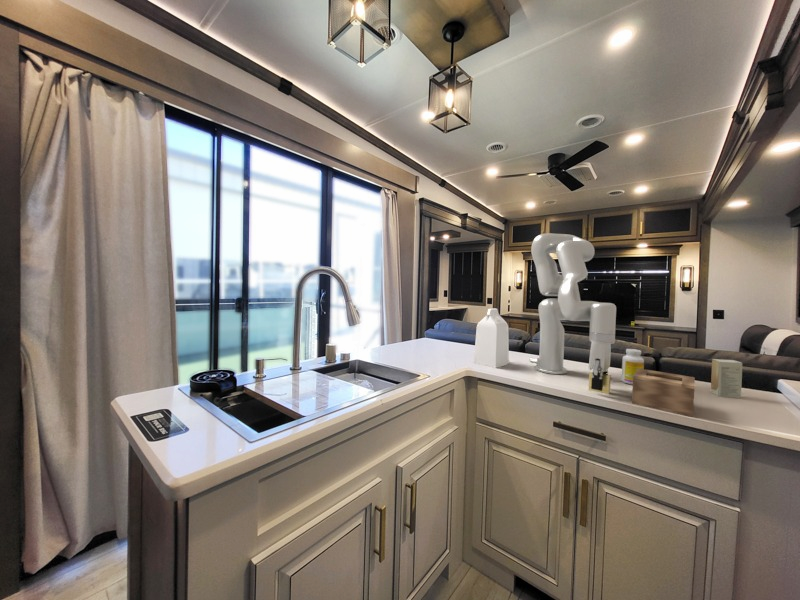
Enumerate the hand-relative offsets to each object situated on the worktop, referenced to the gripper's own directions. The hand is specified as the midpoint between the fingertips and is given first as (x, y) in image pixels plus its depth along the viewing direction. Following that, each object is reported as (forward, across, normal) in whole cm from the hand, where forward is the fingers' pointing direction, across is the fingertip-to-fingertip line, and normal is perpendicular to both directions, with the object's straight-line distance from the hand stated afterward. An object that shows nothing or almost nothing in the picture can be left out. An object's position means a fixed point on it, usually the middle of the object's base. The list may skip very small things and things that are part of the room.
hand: (599, 386), depth 108 cm
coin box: (+2, 0, +17) cm, 17 cm away
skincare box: (+2, -27, +32) cm, 42 cm away
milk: (+2, -7, -45) cm, 46 cm away
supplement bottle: (+2, -20, +7) cm, 21 cm away
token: (+2, 0, 0) cm, 2 cm away
